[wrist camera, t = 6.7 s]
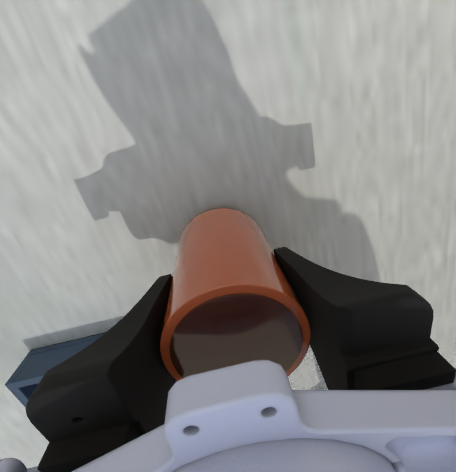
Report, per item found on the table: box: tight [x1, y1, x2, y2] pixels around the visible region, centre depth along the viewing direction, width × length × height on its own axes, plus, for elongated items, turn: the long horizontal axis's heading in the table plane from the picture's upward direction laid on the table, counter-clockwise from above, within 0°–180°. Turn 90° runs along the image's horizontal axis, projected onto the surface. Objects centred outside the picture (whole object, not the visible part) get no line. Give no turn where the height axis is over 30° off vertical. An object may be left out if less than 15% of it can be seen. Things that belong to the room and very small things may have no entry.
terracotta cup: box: [160, 208, 311, 381], centre depth 13 cm, size 6×6×8 cm
